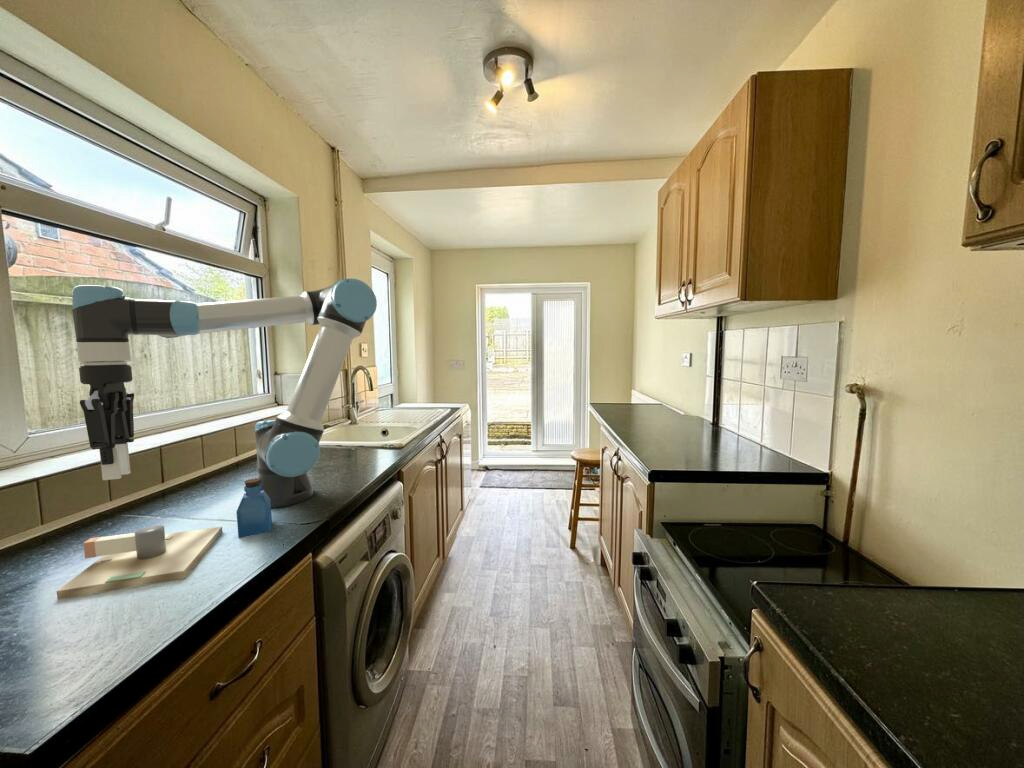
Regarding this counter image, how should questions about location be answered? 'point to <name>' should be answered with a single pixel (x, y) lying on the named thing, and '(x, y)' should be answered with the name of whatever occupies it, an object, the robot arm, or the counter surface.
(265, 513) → the perfume bottle
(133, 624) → the counter surface
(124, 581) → the board
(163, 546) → the hammer
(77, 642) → the counter surface
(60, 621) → the counter surface
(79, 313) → the robot arm
